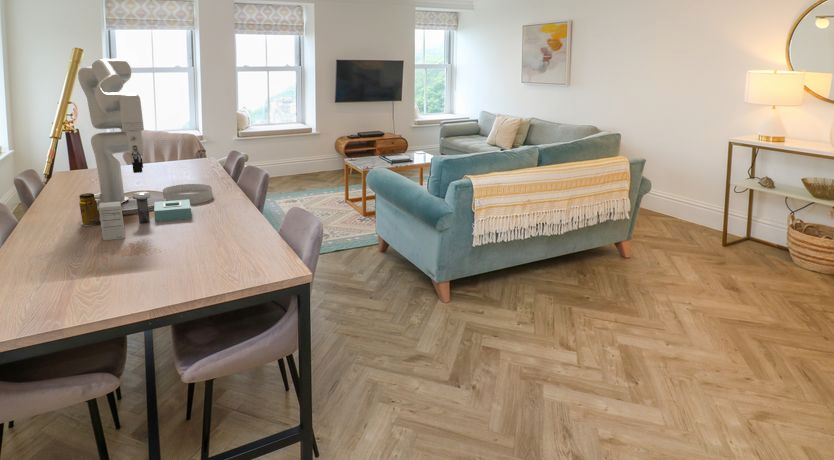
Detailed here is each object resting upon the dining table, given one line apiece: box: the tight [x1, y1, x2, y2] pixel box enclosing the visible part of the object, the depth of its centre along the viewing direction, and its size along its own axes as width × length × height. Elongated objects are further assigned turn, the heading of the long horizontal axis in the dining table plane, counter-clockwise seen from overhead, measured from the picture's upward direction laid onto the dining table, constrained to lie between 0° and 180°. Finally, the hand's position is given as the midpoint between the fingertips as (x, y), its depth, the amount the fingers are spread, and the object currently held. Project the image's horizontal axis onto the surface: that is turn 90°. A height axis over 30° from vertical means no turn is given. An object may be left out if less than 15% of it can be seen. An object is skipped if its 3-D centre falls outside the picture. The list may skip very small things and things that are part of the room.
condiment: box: [78, 192, 101, 227], centre depth 236 cm, size 7×8×12 cm
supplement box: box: [98, 202, 126, 241], centre depth 219 cm, size 7×7×13 cm
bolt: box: [131, 191, 151, 225], centre depth 238 cm, size 6×6×12 cm
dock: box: [153, 199, 193, 222], centre depth 250 cm, size 14×16×5 cm
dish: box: [162, 183, 214, 205], centre depth 278 cm, size 22×22×5 cm
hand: (138, 170), depth 233 cm, fingers open, 9 cm apart
